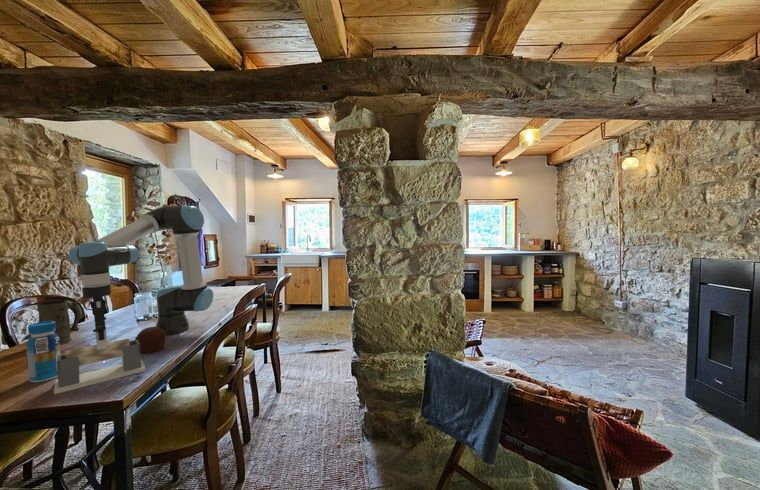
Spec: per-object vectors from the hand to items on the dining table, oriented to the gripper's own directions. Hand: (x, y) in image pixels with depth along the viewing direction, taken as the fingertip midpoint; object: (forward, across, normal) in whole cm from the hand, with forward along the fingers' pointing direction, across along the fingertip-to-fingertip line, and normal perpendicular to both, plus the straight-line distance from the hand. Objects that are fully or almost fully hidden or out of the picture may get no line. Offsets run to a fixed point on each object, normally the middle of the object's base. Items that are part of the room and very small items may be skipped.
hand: (101, 343), depth 115 cm
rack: (+12, 0, 0) cm, 12 cm away
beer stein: (+13, -64, -14) cm, 66 cm away
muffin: (+13, -18, +16) cm, 27 cm away
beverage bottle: (+12, -14, -16) cm, 24 cm away
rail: (+5, 0, -1) cm, 6 cm away
